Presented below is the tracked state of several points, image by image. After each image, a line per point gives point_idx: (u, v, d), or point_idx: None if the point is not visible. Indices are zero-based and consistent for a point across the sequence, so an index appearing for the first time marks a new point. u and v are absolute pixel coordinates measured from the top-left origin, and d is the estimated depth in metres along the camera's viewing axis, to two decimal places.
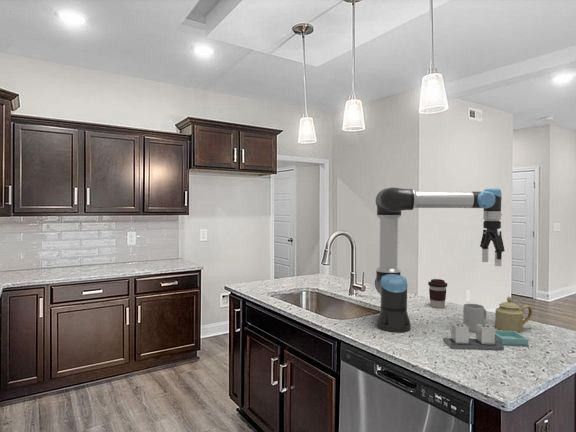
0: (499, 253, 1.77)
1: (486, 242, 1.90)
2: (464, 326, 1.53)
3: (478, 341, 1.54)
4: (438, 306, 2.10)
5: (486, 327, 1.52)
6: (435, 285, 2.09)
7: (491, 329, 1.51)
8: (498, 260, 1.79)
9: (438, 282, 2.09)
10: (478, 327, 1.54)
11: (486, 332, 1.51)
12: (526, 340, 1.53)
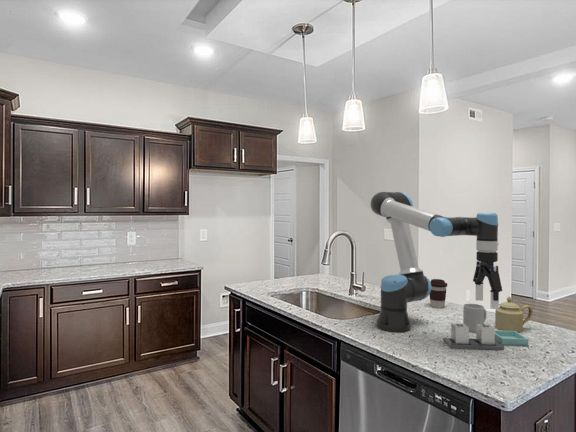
0: (496, 293, 1.44)
1: (480, 277, 1.57)
2: (464, 326, 1.53)
3: (478, 341, 1.54)
4: (438, 306, 2.10)
5: (486, 327, 1.52)
6: (435, 285, 2.09)
7: (491, 329, 1.51)
8: (495, 301, 1.46)
9: (438, 282, 2.09)
10: (478, 327, 1.54)
11: (486, 332, 1.51)
12: (526, 340, 1.53)
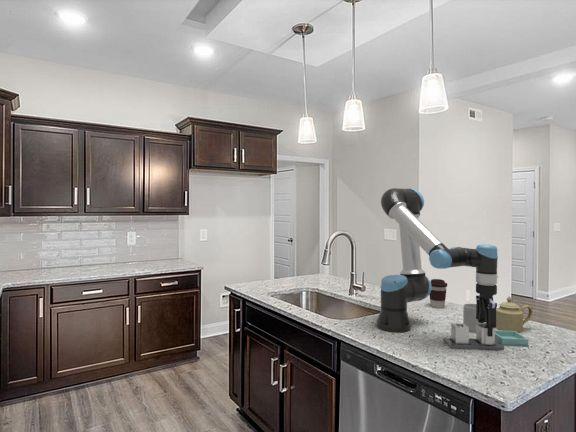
0: (490, 329, 1.49)
1: (482, 312, 1.55)
2: (464, 326, 1.53)
3: (478, 341, 1.54)
4: (438, 306, 2.10)
5: None
6: (435, 285, 2.09)
7: None
8: (489, 337, 1.50)
9: (438, 282, 2.09)
10: (478, 327, 1.54)
11: None
12: (526, 340, 1.53)
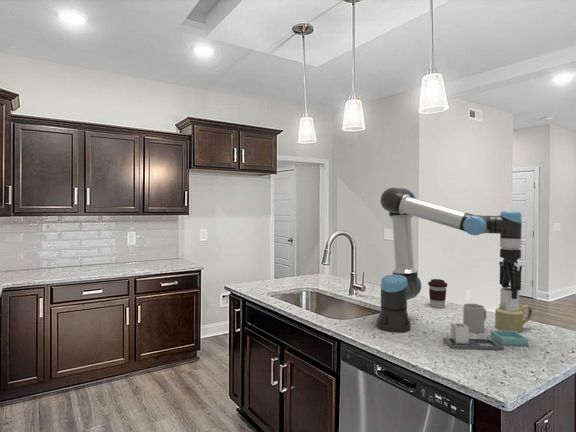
0: (514, 292, 1.54)
1: (506, 276, 1.60)
2: (464, 326, 1.53)
3: (502, 304, 1.59)
4: (438, 306, 2.10)
5: None
6: (435, 285, 2.09)
7: None
8: (513, 299, 1.55)
9: (438, 282, 2.09)
10: (502, 291, 1.59)
11: None
12: (526, 340, 1.53)
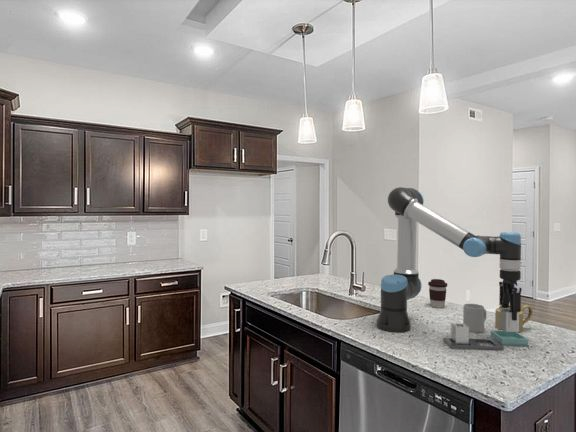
0: (514, 313, 1.54)
1: (505, 297, 1.60)
2: (464, 326, 1.53)
3: (502, 325, 1.59)
4: (438, 306, 2.10)
5: None
6: (435, 285, 2.09)
7: None
8: (513, 321, 1.55)
9: (438, 282, 2.09)
10: (502, 312, 1.59)
11: None
12: (526, 340, 1.53)
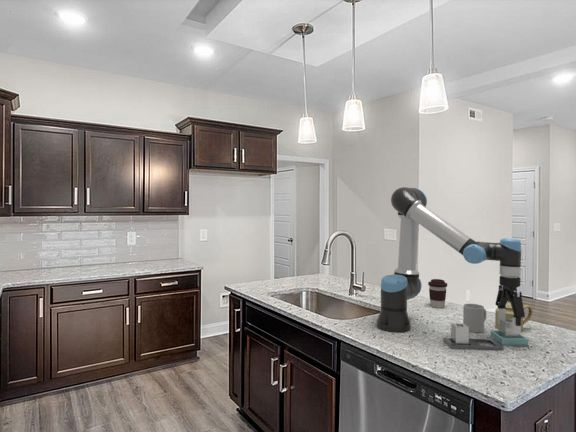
0: (518, 319, 1.51)
1: (503, 301, 1.62)
2: (464, 326, 1.53)
3: (502, 335, 1.59)
4: (438, 306, 2.10)
5: (510, 321, 1.57)
6: (435, 285, 2.09)
7: None
8: (517, 326, 1.52)
9: (438, 282, 2.09)
10: (502, 322, 1.59)
11: (509, 326, 1.56)
12: (526, 340, 1.53)
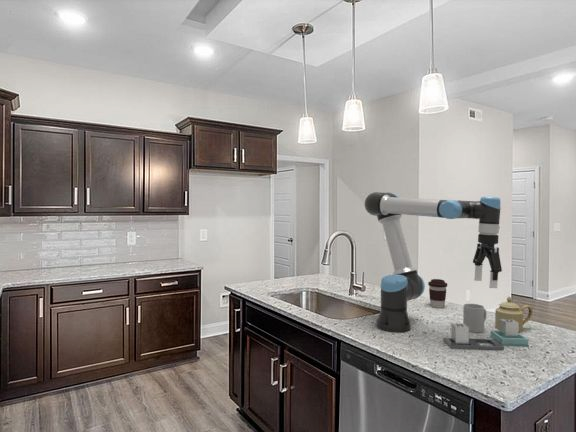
0: (495, 273, 1.52)
1: (480, 258, 1.65)
2: (464, 326, 1.53)
3: (502, 335, 1.59)
4: (438, 306, 2.10)
5: (510, 321, 1.57)
6: (435, 285, 2.09)
7: (515, 324, 1.56)
8: (494, 281, 1.53)
9: (438, 282, 2.09)
10: (502, 322, 1.59)
11: (509, 326, 1.56)
12: (526, 340, 1.53)
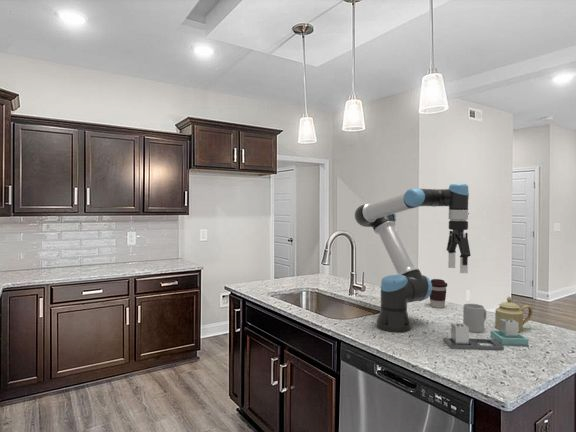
0: (465, 258, 1.54)
1: (452, 245, 1.67)
2: (464, 326, 1.53)
3: (502, 335, 1.59)
4: (438, 306, 2.10)
5: (510, 321, 1.57)
6: (435, 285, 2.09)
7: (515, 324, 1.56)
8: (464, 266, 1.55)
9: (438, 282, 2.09)
10: (502, 322, 1.59)
11: (509, 326, 1.56)
12: (526, 340, 1.53)
